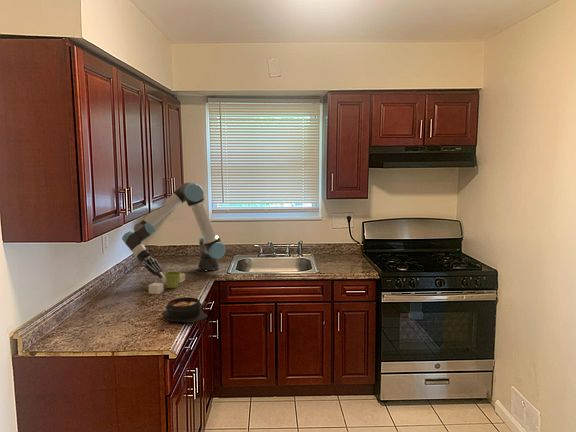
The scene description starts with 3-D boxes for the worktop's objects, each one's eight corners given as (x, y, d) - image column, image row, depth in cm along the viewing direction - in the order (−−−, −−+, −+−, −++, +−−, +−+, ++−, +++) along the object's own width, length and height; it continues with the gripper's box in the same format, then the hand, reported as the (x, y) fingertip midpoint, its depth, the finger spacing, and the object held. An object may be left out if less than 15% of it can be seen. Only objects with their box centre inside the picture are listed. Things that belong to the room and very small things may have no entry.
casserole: (152, 318, 214) (151, 301, 213) (182, 308, 229) (182, 292, 228) (186, 329, 199) (185, 311, 198) (216, 318, 214) (216, 301, 213)
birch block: (171, 282, 280) (171, 275, 280) (176, 280, 286) (176, 272, 285) (180, 283, 278) (179, 275, 278) (185, 281, 284) (184, 273, 284)
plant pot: (172, 283, 276) (172, 270, 275) (183, 286, 271) (183, 272, 270) (161, 287, 268) (161, 273, 267) (172, 290, 263) (172, 276, 262)
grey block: (148, 293, 257) (148, 285, 257) (154, 290, 263) (154, 282, 262) (157, 294, 255) (157, 285, 255) (163, 291, 261) (163, 283, 261)
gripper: (144, 254, 281) (168, 282, 277) (131, 259, 268) (156, 288, 265) (151, 247, 278) (175, 274, 275) (138, 250, 266) (163, 280, 263)
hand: (165, 281), depth 270 cm, fingers closed
